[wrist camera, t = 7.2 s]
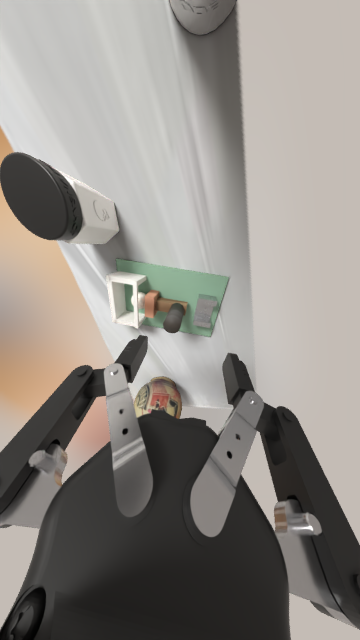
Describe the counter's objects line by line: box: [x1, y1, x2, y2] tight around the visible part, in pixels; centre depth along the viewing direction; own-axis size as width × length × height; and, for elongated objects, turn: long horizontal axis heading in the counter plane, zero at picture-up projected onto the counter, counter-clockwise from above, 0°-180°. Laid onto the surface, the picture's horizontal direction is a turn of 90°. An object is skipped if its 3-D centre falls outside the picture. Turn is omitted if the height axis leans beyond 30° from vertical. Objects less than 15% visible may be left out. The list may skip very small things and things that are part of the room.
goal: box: [106, 271, 147, 329], centre depth 31 cm, size 11×6×6 cm, turn 172°
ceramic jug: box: [134, 377, 182, 419], centre depth 37 cm, size 17×15×30 cm
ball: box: [131, 292, 146, 309], centre depth 31 cm, size 4×4×4 cm
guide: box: [193, 294, 218, 328], centre depth 31 cm, size 7×4×3 cm, turn 172°
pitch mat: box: [116, 259, 229, 337], centre depth 33 cm, size 16×25×1 cm, turn 82°
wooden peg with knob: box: [145, 290, 188, 333], centre depth 28 cm, size 5×9×10 cm, turn 82°
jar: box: [0, 152, 119, 244], centre depth 21 cm, size 9×8×12 cm
